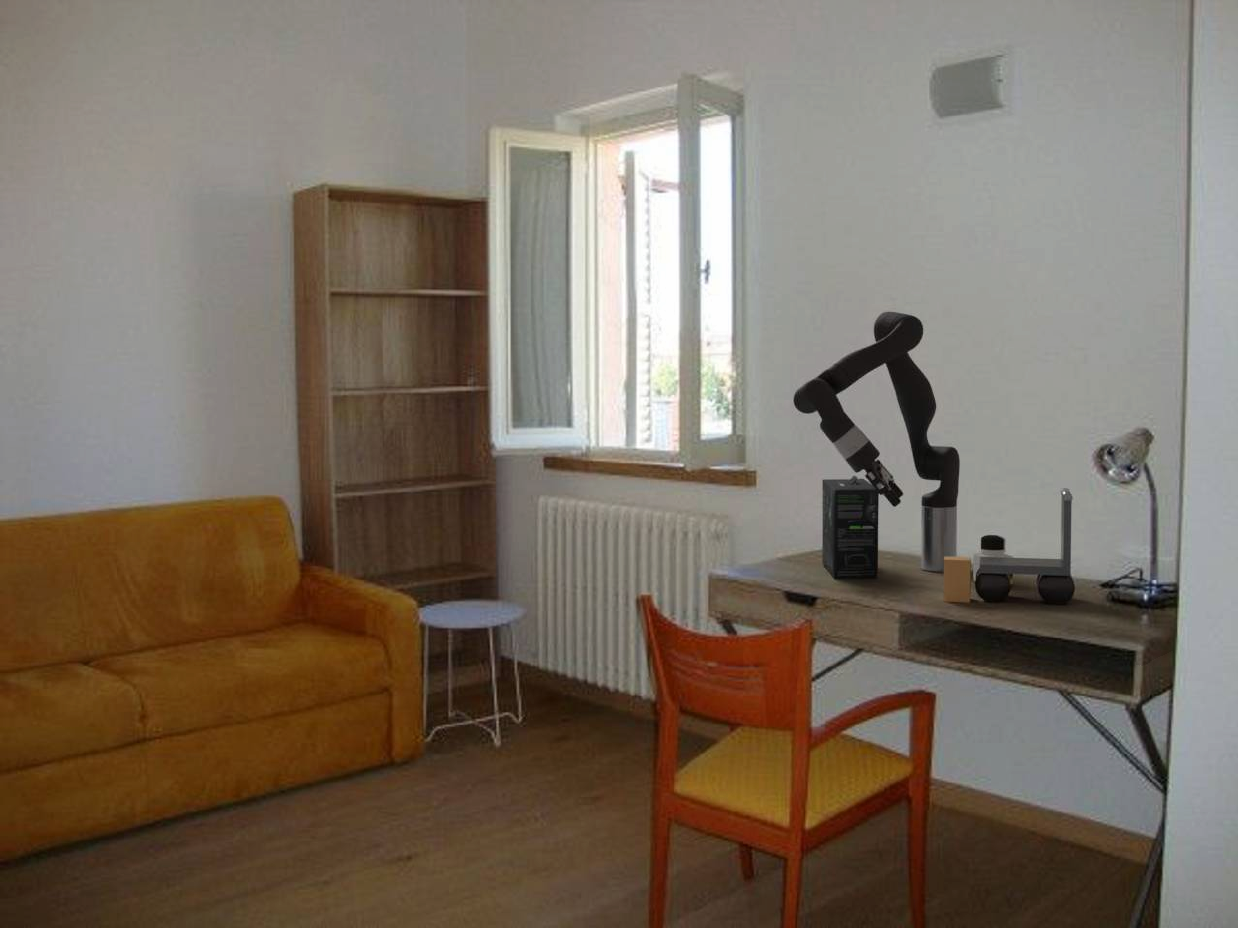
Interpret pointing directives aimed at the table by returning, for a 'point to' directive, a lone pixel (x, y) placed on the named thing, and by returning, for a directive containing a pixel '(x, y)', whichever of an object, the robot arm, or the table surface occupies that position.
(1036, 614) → the table surface
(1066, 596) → the trolley
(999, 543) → the medicine bottle
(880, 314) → the robot arm
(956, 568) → the light orange block
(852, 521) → the headset box
